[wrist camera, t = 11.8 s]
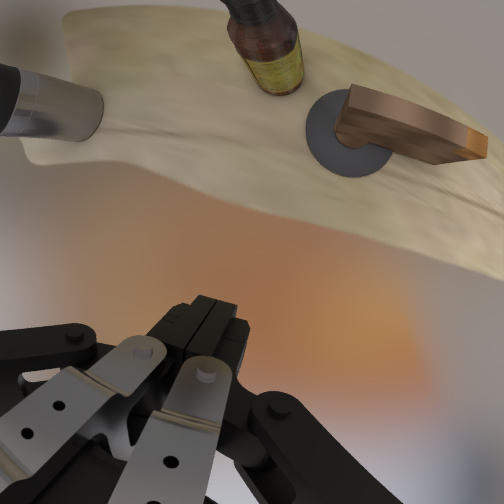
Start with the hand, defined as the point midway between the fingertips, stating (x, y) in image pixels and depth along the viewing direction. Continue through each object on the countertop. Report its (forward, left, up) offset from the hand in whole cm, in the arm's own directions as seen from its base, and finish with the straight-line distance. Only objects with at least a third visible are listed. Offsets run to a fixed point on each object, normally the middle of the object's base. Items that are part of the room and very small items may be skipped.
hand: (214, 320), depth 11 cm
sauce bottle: (-4, +19, -26) cm, 33 cm away
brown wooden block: (+11, +13, -24) cm, 29 cm away
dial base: (+6, +13, -26) cm, 30 cm away
